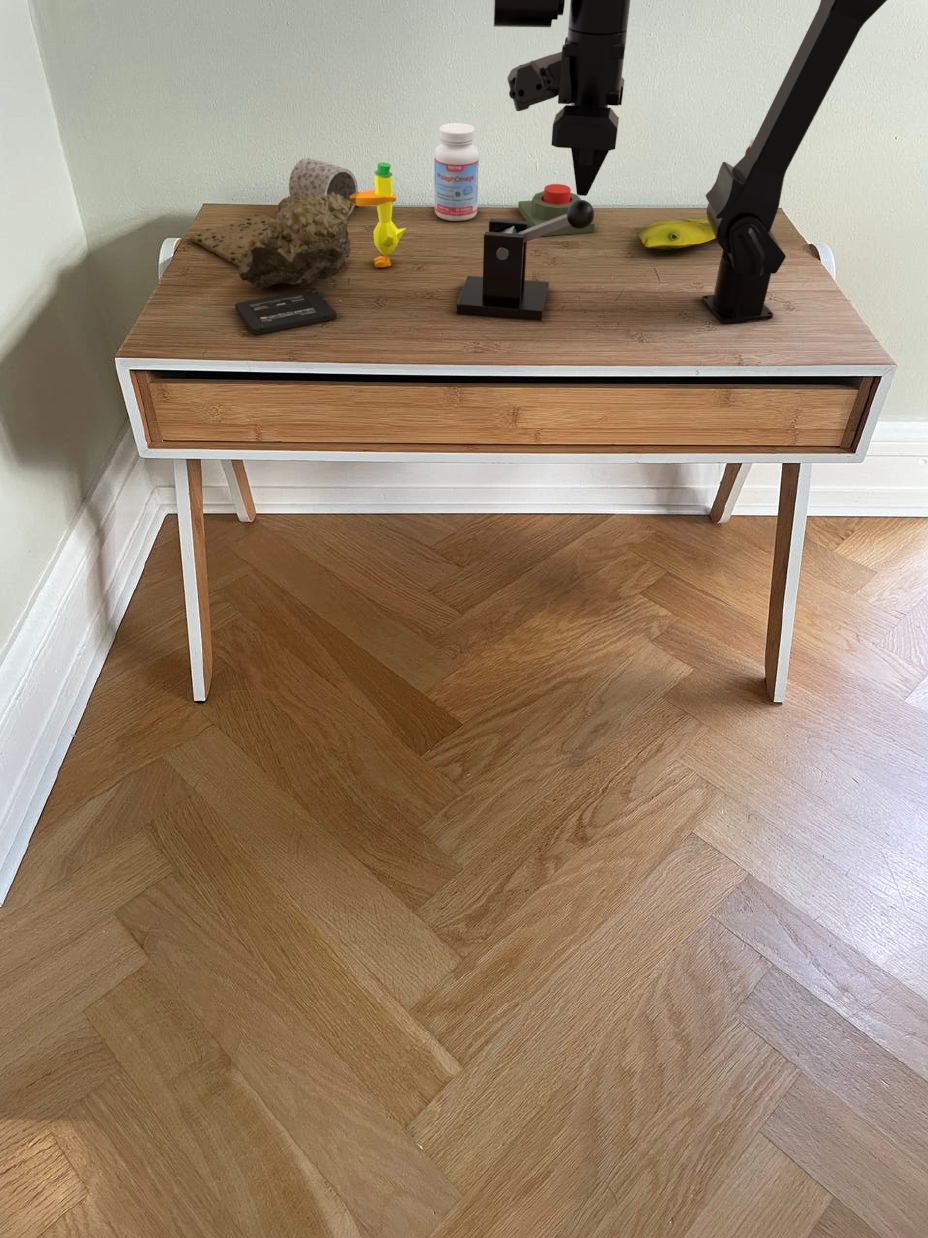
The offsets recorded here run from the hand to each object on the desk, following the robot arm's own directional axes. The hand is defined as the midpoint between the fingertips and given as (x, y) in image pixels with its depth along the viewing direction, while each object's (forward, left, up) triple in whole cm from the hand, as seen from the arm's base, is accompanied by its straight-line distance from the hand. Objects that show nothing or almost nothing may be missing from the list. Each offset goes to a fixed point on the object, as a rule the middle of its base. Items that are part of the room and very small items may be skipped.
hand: (582, 193), depth 103 cm
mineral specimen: (+16, +30, -12) cm, 36 cm away
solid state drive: (+5, +33, -12) cm, 36 cm away
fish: (+20, -16, -12) cm, 28 cm away
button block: (+26, -6, -13) cm, 30 cm away
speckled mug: (+39, +26, -10) cm, 48 cm away
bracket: (+3, +7, -13) cm, 15 cm away
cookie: (+27, +35, -14) cm, 47 cm away
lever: (+1, +3, -5) cm, 6 cm away
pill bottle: (+31, +7, -13) cm, 35 cm away
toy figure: (+16, +20, -13) cm, 29 cm away
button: (+27, -6, -10) cm, 29 cm away
